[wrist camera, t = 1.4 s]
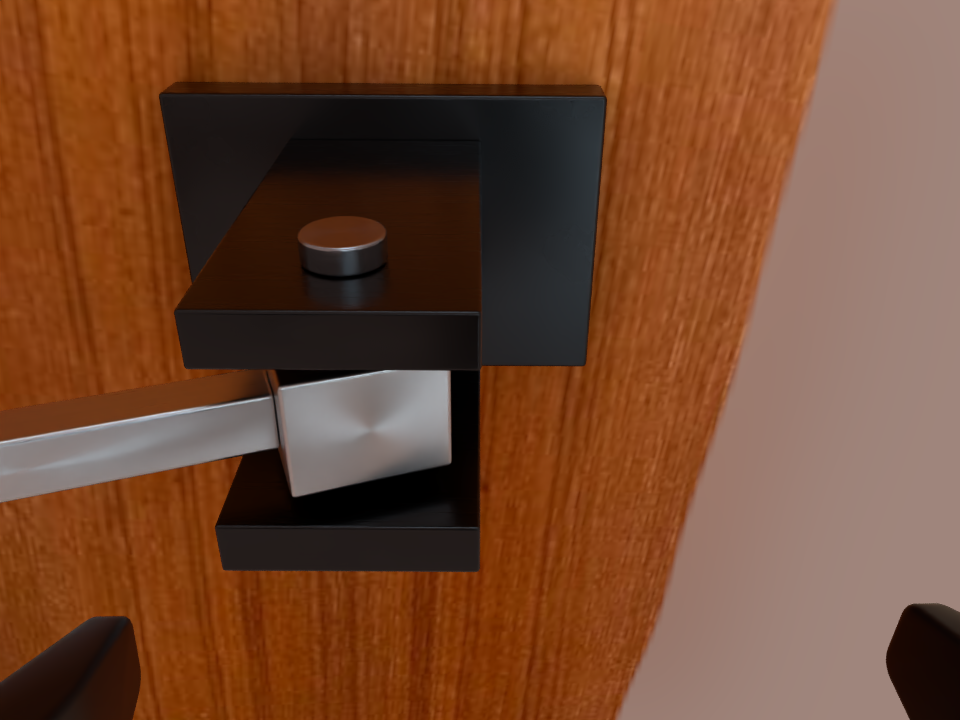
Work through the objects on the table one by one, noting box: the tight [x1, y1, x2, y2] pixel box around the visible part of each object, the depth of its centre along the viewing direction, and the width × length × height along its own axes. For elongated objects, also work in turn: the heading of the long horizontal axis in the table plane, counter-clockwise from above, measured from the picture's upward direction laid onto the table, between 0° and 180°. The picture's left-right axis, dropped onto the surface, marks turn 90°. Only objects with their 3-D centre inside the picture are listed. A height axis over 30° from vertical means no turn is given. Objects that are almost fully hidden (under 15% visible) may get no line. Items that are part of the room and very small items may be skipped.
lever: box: [0, 369, 452, 503], centre depth 14 cm, size 11×6×2 cm, turn 90°
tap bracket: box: [159, 82, 607, 572], centre depth 18 cm, size 10×7×10 cm
